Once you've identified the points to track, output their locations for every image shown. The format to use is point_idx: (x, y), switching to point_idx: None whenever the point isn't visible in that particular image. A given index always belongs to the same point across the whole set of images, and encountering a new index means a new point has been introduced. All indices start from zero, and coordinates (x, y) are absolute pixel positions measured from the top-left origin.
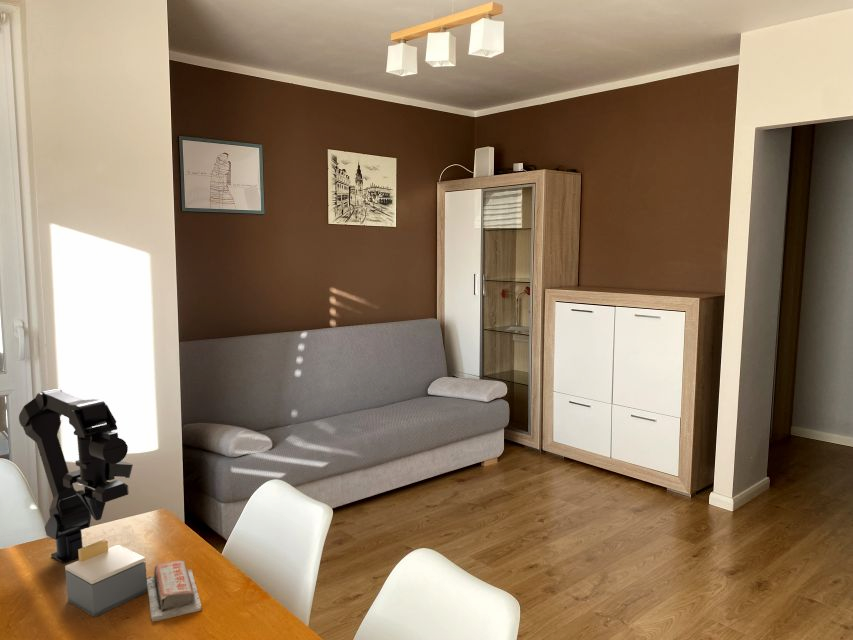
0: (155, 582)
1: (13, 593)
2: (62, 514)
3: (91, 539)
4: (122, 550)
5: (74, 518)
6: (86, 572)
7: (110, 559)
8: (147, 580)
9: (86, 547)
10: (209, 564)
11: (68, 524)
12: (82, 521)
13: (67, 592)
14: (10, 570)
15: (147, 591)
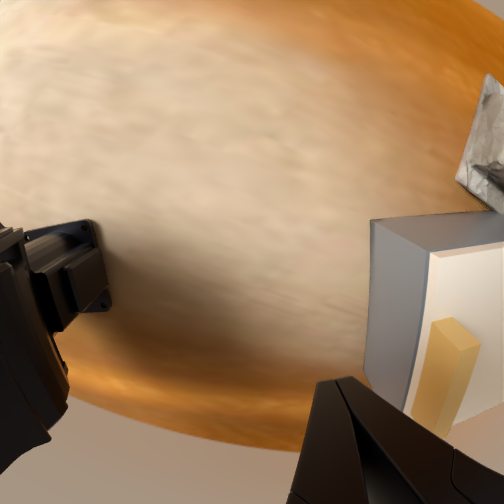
0: (497, 185)
1: (207, 431)
2: (38, 442)
3: (9, 177)
4: (493, 269)
5: (34, 364)
6: (486, 401)
7: (501, 330)
8: (473, 189)
9: (445, 421)
10: (474, 24)
11: (59, 381)
12: (32, 302)
13: (372, 386)
14: (75, 394)
15: (489, 210)
